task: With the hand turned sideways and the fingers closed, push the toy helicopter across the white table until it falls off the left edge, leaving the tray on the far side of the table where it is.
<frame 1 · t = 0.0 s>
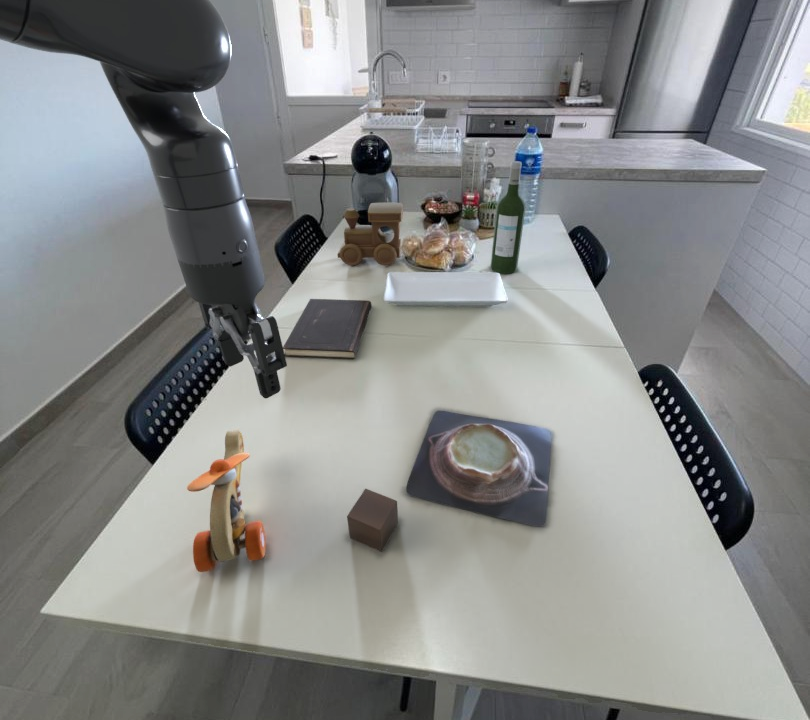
hand: (252, 377, 53), 24 cm above the table, tool pointing down, fingers open, 8 cm apart
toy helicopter: (238, 519, 65), on the table
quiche: (483, 461, 73), on the table
walnut block: (374, 530, 63), on the table
wine bottle: (503, 269, 134), on the table
tray: (443, 297, 120), on the table
wooden toy train: (371, 260, 141), on the table
hardcover book: (331, 331, 107), on the table
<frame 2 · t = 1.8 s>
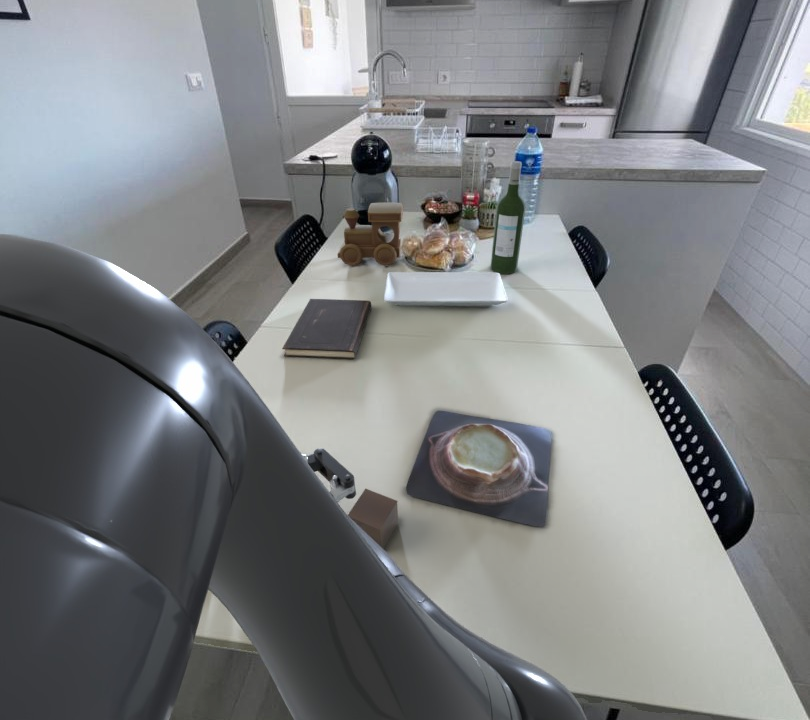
hand: (242, 468, 46), 20 cm above the table, tool horizontal, fingers open, 7 cm apart
nothing on the table moved.
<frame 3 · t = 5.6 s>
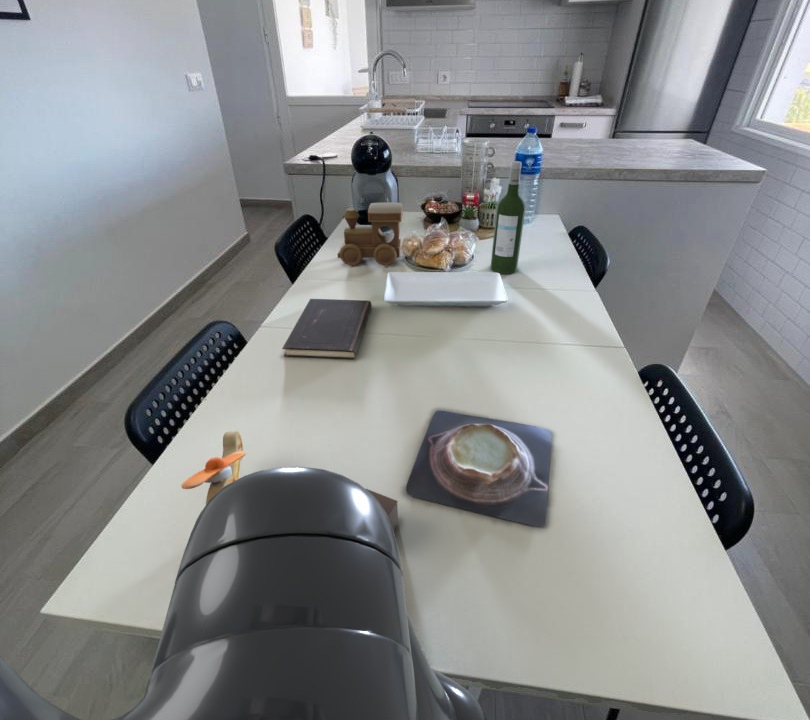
hand: (241, 509, 58), 7 cm above the table, tool horizontal, fingers closed
nothing on the table moved.
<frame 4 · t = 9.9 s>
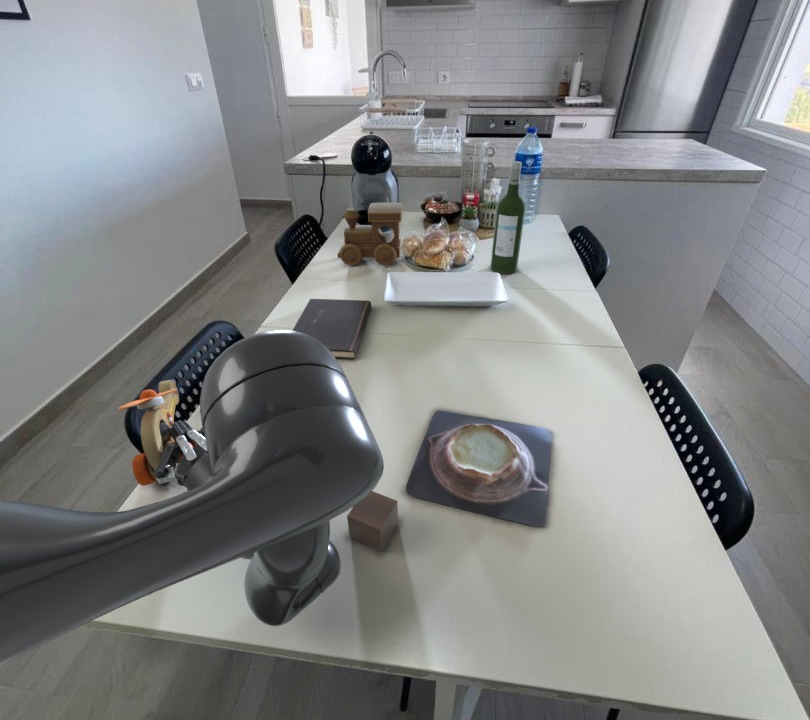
hand: (176, 426, 71), 7 cm above the table, tool horizontal, fingers closed
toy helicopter: (176, 450, 76), on the table, touching gripper, hand
everything else where it was.
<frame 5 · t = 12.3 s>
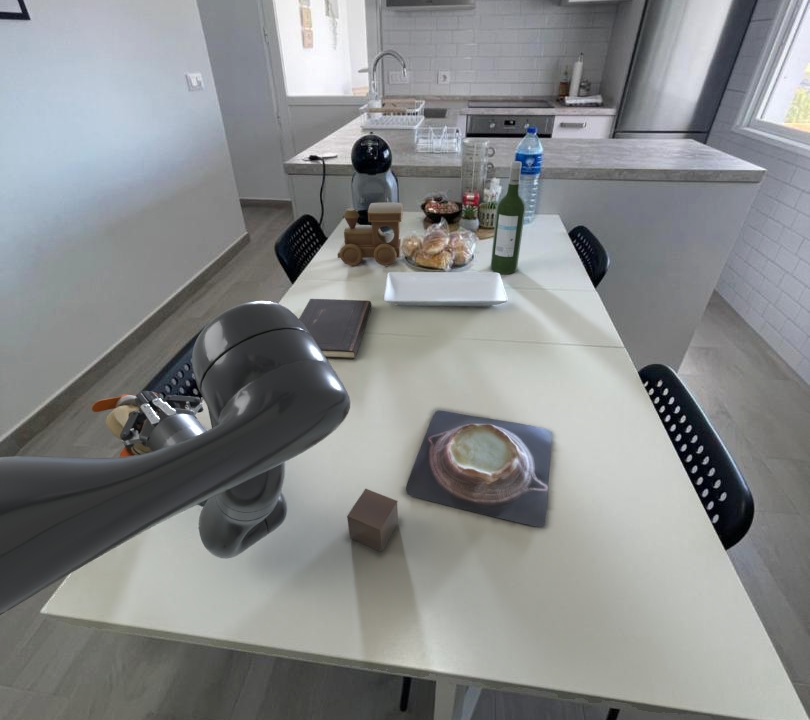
hand: (142, 396, 76), 7 cm above the table, tool horizontal, fingers closed
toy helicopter: (178, 444, 81), on the table, touching hand
everything else where it was.
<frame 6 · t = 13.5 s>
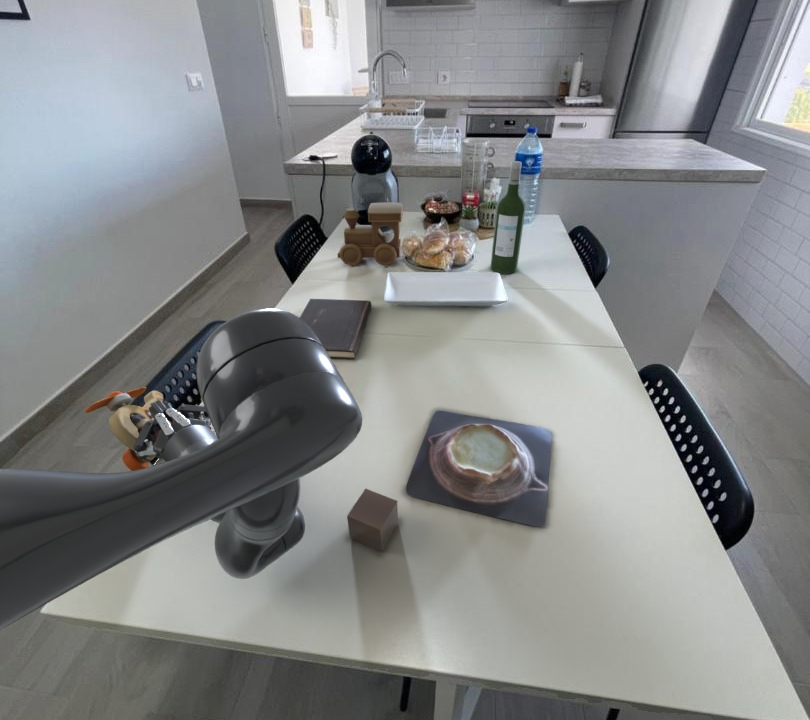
hand: (156, 405, 75), 7 cm above the table, tool horizontal, fingers closed
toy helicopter: (173, 441, 80), on the table
everything else where it was.
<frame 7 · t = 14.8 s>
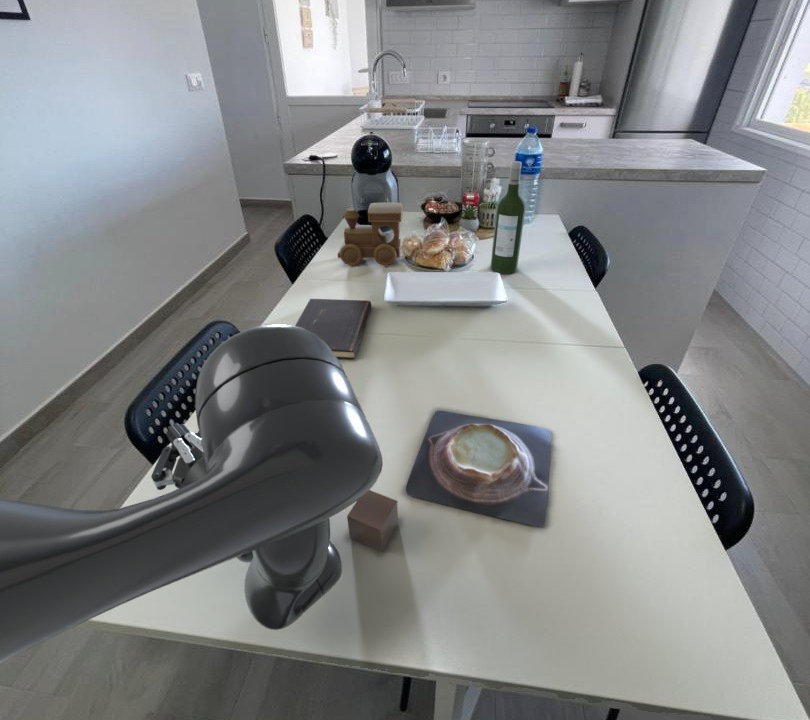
hand: (173, 429, 70), 7 cm above the table, tool horizontal, fingers closed
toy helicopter: (128, 601, 127), on the floor
everything else where it was.
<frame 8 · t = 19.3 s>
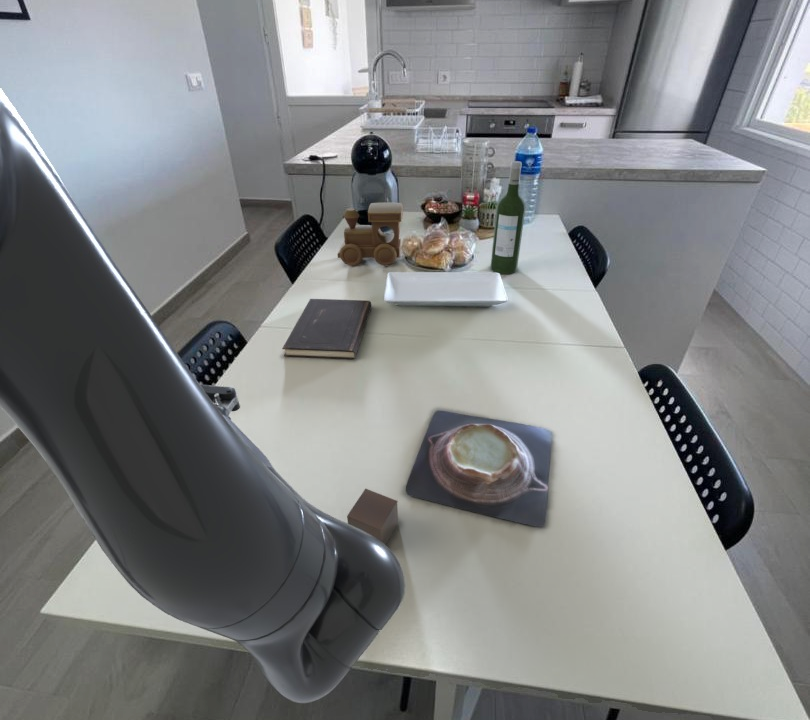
hand: (148, 386, 50), 25 cm above the table, tool horizontal, fingers closed
nothing on the table moved.
at the end: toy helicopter on the floor; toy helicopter moved 94.6 cm from its start; tray moved 0.2 cm from its start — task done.
